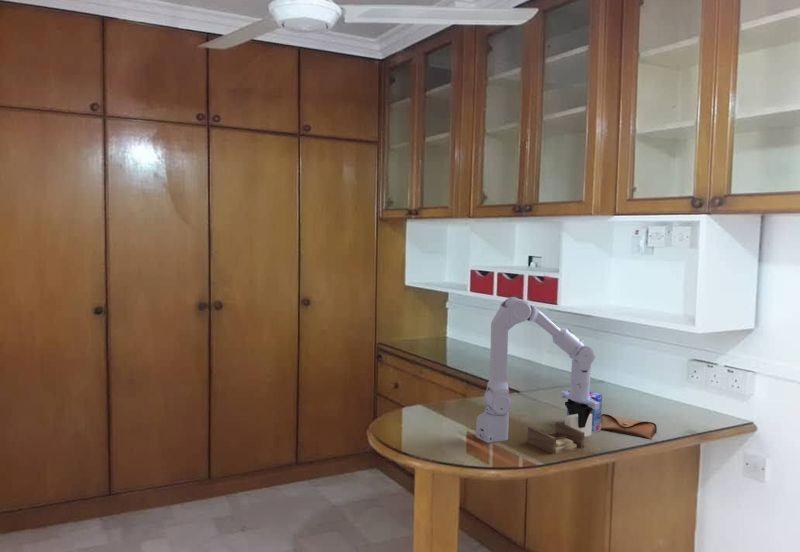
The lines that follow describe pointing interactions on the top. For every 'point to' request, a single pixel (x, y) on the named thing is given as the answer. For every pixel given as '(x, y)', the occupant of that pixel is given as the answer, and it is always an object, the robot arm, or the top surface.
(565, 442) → the offcut upper
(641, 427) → the sunglasses case
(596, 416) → the ink cartridge box
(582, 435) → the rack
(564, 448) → the offcut lower
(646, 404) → the top surface
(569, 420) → the board
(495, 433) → the robot arm
